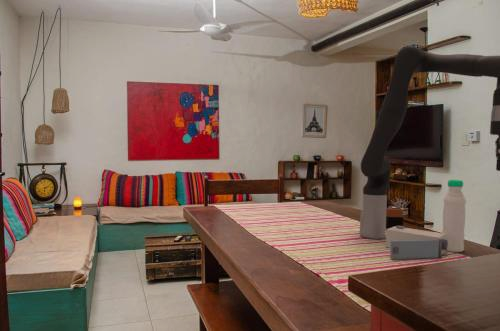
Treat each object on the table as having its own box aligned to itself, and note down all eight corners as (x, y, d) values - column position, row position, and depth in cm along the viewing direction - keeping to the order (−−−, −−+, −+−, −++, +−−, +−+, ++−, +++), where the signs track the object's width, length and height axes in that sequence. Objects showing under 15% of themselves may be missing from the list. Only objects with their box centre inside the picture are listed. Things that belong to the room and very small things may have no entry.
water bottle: (437, 248, 145) (439, 179, 144) (451, 246, 148) (454, 179, 146) (453, 253, 139) (456, 181, 137) (468, 251, 141) (471, 180, 140)
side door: (392, 259, 129) (392, 241, 129) (390, 258, 131) (390, 240, 131) (442, 258, 132) (443, 239, 132) (440, 256, 134) (440, 238, 133)
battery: (403, 230, 176) (404, 207, 175) (387, 229, 176) (388, 207, 176) (400, 228, 180) (400, 205, 180) (384, 227, 181) (385, 205, 180)
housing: (385, 247, 146) (386, 227, 145) (394, 243, 152) (395, 224, 151) (442, 257, 133) (443, 235, 133) (449, 253, 139) (450, 232, 139)
